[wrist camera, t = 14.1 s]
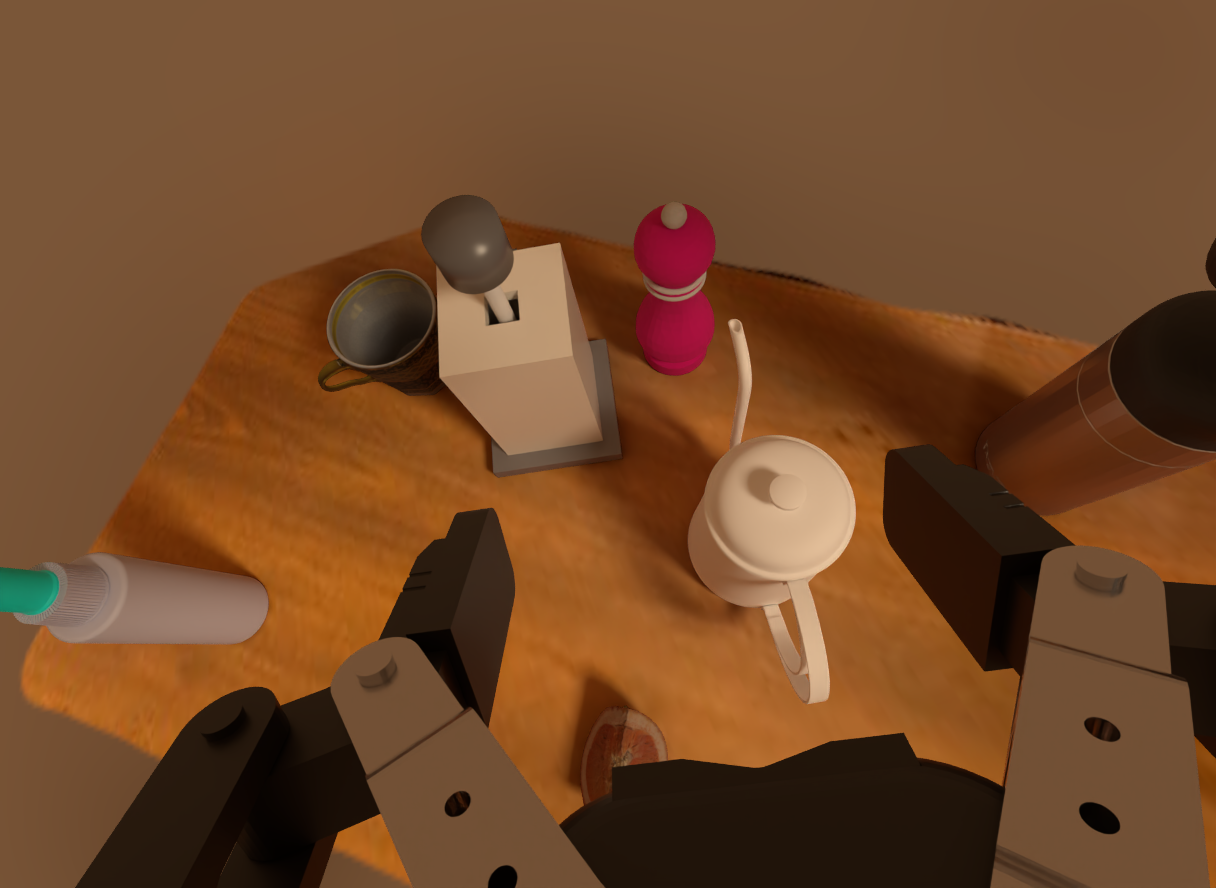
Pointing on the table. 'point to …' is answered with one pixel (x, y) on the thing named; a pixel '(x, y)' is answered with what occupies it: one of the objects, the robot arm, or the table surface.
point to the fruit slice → (618, 748)
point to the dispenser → (530, 369)
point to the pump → (471, 249)
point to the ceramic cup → (386, 333)
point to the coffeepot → (773, 531)
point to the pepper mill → (674, 287)
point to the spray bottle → (134, 601)
